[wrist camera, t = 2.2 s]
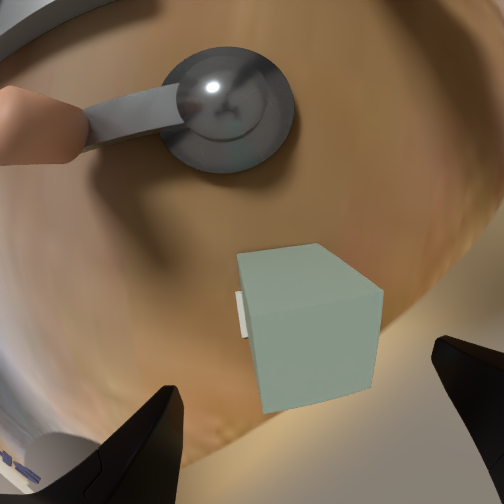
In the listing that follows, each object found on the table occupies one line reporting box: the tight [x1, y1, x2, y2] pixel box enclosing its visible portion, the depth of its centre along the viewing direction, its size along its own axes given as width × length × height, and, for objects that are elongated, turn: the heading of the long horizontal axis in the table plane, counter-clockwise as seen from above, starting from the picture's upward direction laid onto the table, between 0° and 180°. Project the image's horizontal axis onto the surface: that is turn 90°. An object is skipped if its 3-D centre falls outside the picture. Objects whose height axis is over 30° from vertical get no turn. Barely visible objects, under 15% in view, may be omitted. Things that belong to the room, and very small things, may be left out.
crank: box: [0, 56, 269, 166], centre depth 9 cm, size 12×4×6 cm, turn 96°
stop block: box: [237, 243, 384, 414], centre depth 12 cm, size 4×4×7 cm
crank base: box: [159, 47, 294, 338], centre depth 14 cm, size 7×16×1 cm, turn 6°
